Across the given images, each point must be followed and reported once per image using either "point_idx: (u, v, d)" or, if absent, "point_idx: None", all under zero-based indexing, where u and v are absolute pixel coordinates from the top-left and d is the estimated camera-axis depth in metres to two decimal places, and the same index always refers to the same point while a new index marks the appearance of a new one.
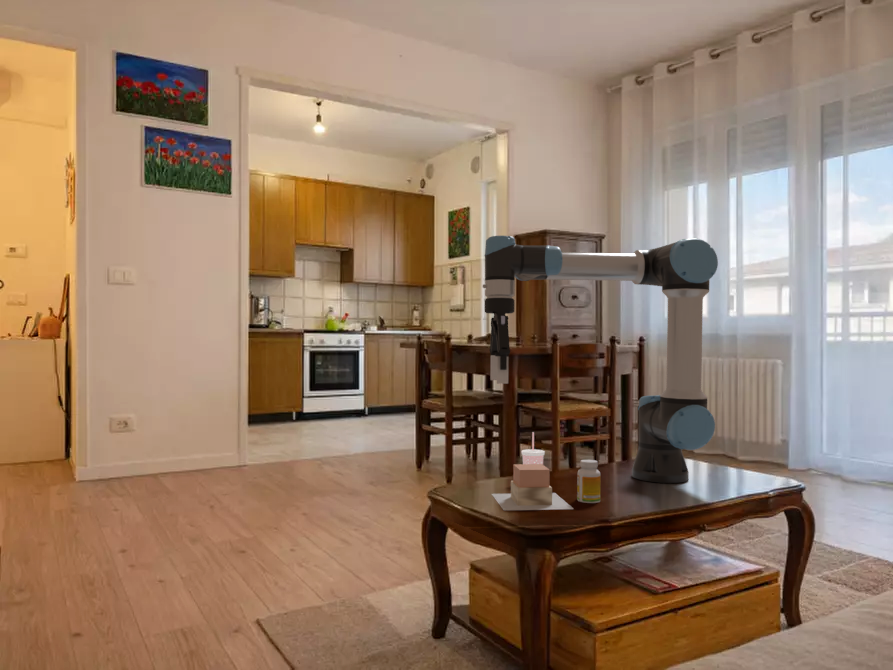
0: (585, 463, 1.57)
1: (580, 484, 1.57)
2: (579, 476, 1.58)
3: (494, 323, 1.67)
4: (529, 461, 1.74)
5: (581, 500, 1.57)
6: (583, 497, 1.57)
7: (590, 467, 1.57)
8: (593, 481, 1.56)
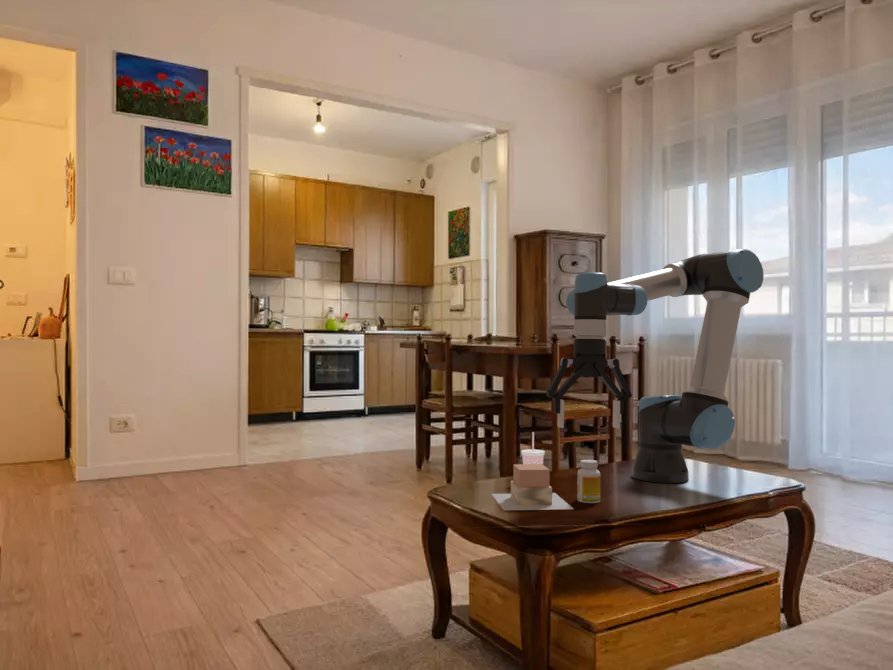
0: (585, 463, 1.57)
1: (580, 484, 1.57)
2: (579, 476, 1.58)
3: None
4: (529, 461, 1.74)
5: (581, 500, 1.57)
6: (583, 497, 1.57)
7: (590, 467, 1.57)
8: (593, 481, 1.56)
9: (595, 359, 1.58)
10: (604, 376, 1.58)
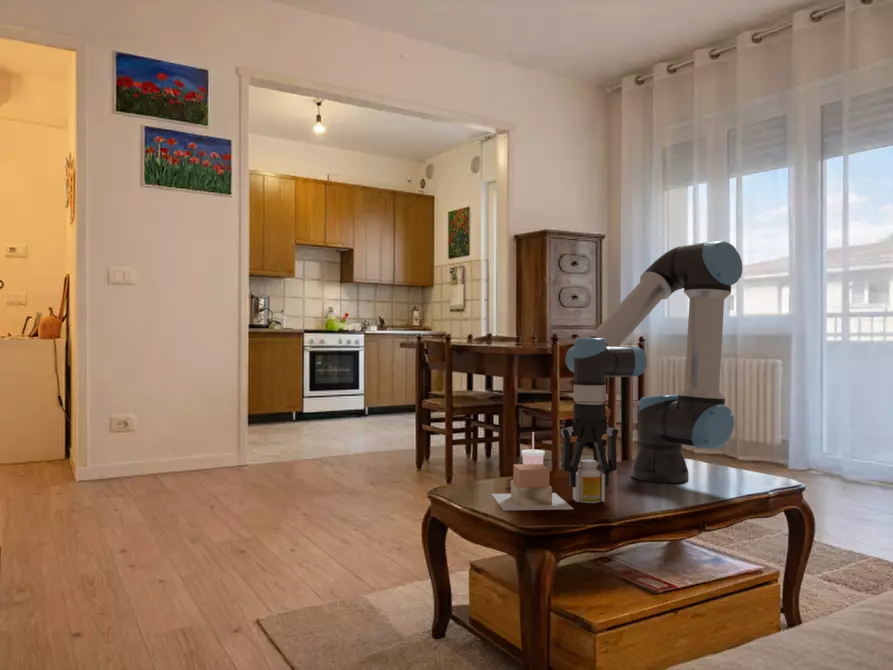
0: (585, 463, 1.57)
1: (580, 484, 1.57)
2: None
3: None
4: (529, 461, 1.74)
5: (581, 500, 1.57)
6: (583, 496, 1.57)
7: (590, 467, 1.57)
8: (593, 480, 1.56)
9: (597, 421, 1.58)
10: (599, 443, 1.58)
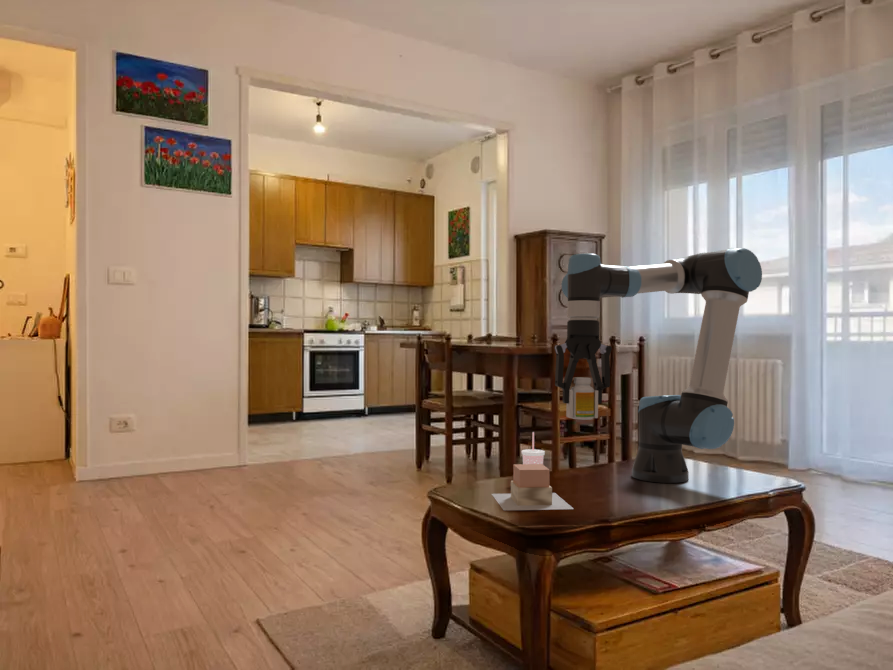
0: (579, 379, 1.57)
1: (574, 400, 1.57)
2: (573, 392, 1.58)
3: None
4: (529, 461, 1.74)
5: (574, 416, 1.57)
6: (577, 412, 1.57)
7: (583, 382, 1.57)
8: (587, 396, 1.56)
9: (591, 337, 1.58)
10: (592, 360, 1.57)
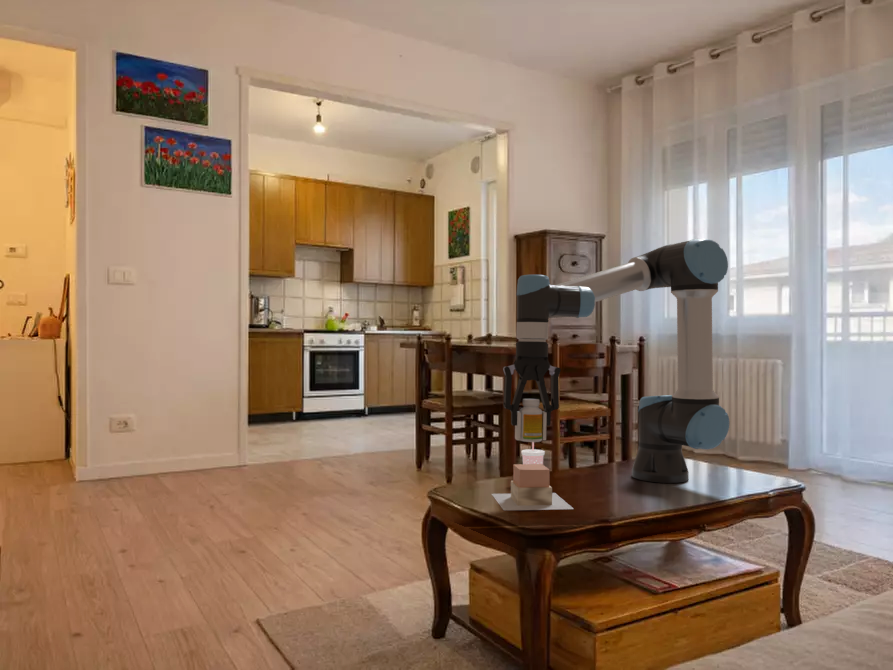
0: (526, 401, 1.56)
1: (521, 422, 1.56)
2: None
3: None
4: (529, 461, 1.74)
5: (522, 438, 1.56)
6: (524, 434, 1.55)
7: (531, 404, 1.56)
8: (534, 418, 1.55)
9: (539, 359, 1.57)
10: (541, 381, 1.56)
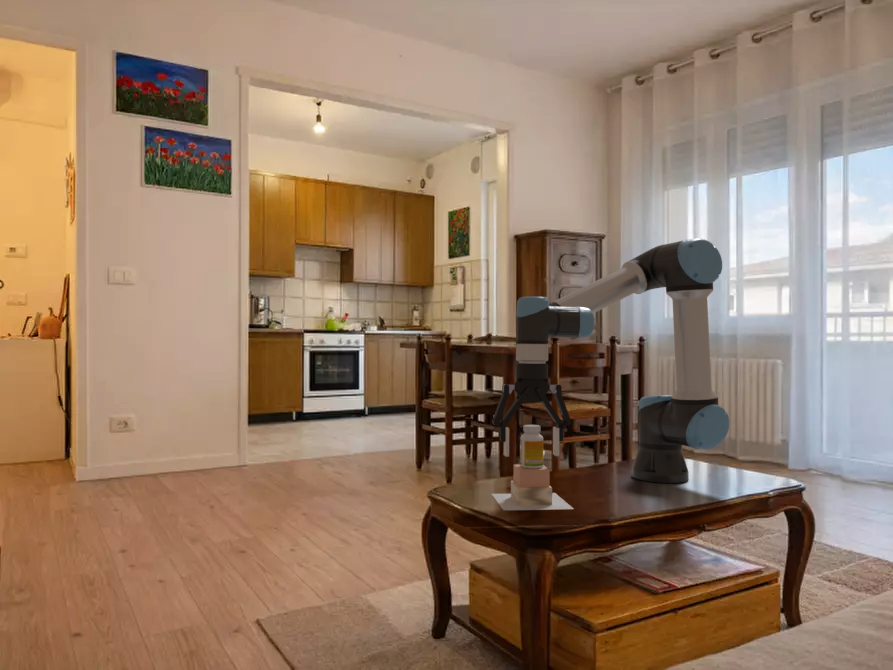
0: (527, 427, 1.56)
1: (523, 449, 1.56)
2: (521, 441, 1.56)
3: None
4: None
5: (523, 465, 1.56)
6: (525, 461, 1.55)
7: (532, 431, 1.56)
8: (535, 445, 1.55)
9: (537, 383, 1.57)
10: (545, 402, 1.56)
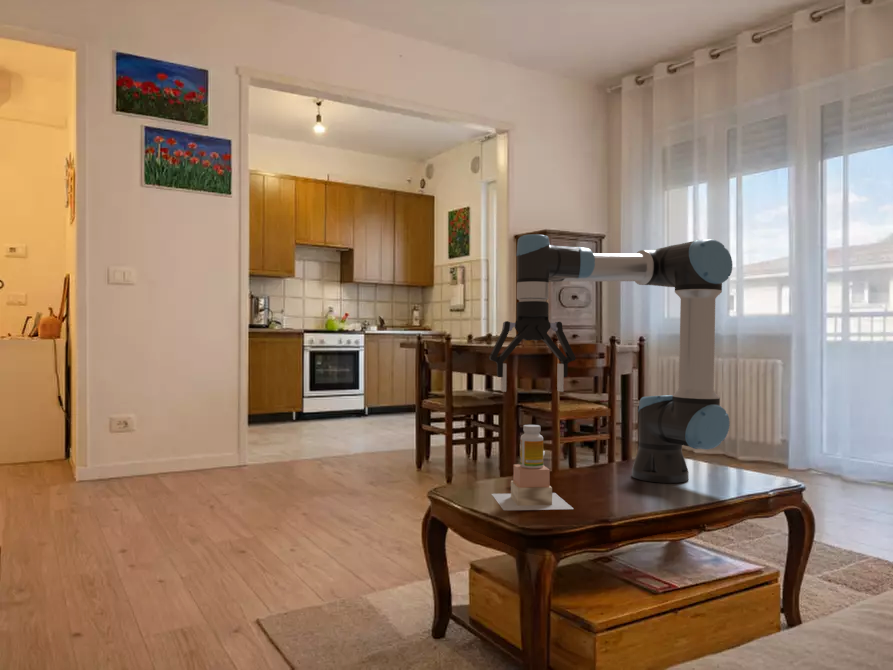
0: (527, 427, 1.56)
1: (523, 449, 1.56)
2: (521, 441, 1.56)
3: None
4: None
5: (523, 465, 1.56)
6: (525, 461, 1.55)
7: (532, 431, 1.56)
8: (535, 445, 1.55)
9: (538, 322, 1.57)
10: (547, 339, 1.56)
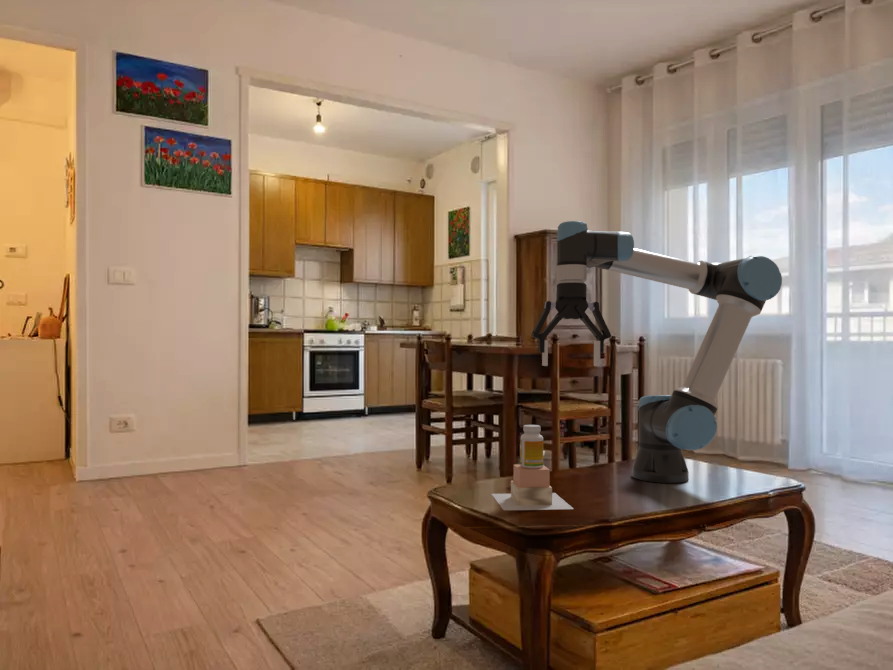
0: (527, 427, 1.56)
1: (523, 449, 1.56)
2: (521, 441, 1.56)
3: None
4: None
5: (523, 465, 1.56)
6: (525, 461, 1.55)
7: (532, 431, 1.56)
8: (535, 445, 1.55)
9: (576, 302, 1.70)
10: (585, 317, 1.70)
